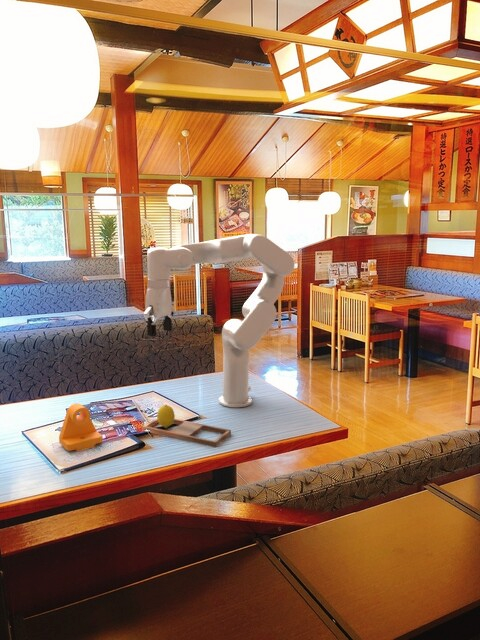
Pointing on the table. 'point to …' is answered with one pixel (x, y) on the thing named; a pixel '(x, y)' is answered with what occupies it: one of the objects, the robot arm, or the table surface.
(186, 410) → the table surface
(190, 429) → the wooden frame
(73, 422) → the bracket
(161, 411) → the lemon
